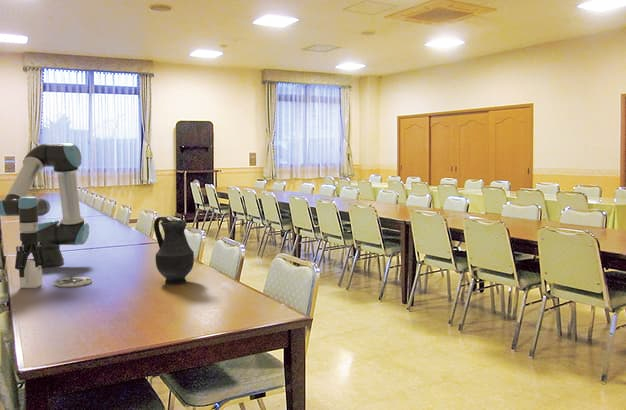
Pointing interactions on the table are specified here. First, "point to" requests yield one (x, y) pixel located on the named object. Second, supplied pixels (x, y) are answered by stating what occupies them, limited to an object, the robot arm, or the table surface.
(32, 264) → the medicine bottle
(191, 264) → the pitcher
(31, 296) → the table surface
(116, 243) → the table surface
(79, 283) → the flange
